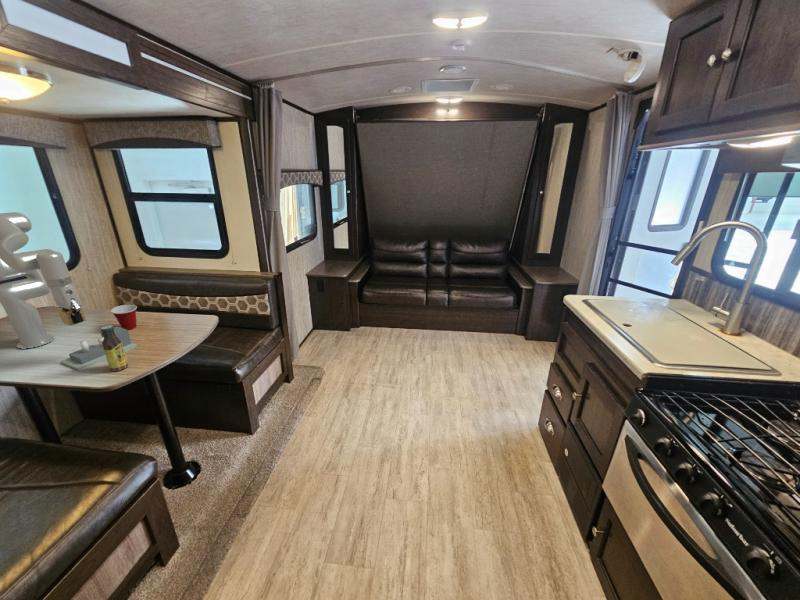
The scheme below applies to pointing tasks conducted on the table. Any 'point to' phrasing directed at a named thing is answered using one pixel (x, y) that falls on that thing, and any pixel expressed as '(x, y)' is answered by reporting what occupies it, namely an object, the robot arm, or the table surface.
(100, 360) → the coupling rig
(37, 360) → the table surface
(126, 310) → the plastic cup
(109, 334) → the sauce bottle
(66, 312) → the hollow wooden square tube
